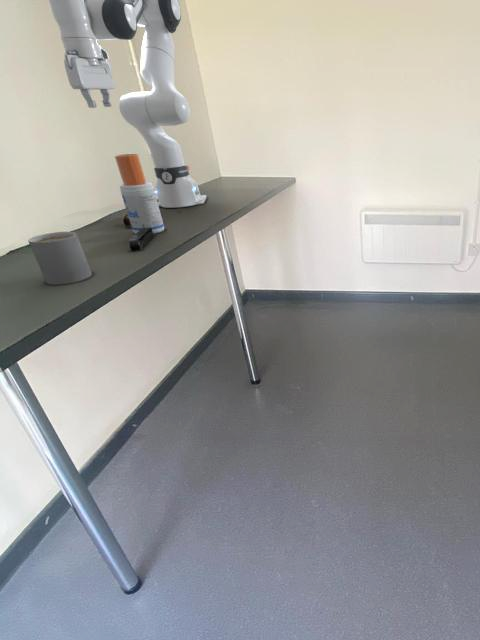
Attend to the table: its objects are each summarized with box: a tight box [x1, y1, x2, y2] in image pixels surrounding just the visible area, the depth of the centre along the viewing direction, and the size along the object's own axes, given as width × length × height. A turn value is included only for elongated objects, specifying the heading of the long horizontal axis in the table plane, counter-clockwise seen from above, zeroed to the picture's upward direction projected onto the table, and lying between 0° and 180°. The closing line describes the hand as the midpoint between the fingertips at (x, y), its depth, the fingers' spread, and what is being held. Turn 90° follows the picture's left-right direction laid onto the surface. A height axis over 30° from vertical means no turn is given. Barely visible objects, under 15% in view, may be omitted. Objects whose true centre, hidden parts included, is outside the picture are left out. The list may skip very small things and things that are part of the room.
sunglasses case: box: [122, 213, 132, 228], centre depth 171 cm, size 18×7×7 cm
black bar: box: [128, 227, 155, 252], centre depth 145 cm, size 18×3×3 cm, turn 11°
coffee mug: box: [28, 231, 93, 286], centre depth 118 cm, size 13×10×10 cm
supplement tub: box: [119, 181, 165, 235], centre depth 154 cm, size 10×10×15 cm
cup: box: [114, 153, 147, 185], centre depth 148 cm, size 6×6×8 cm
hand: (100, 107), depth 147 cm, fingers open, 8 cm apart
